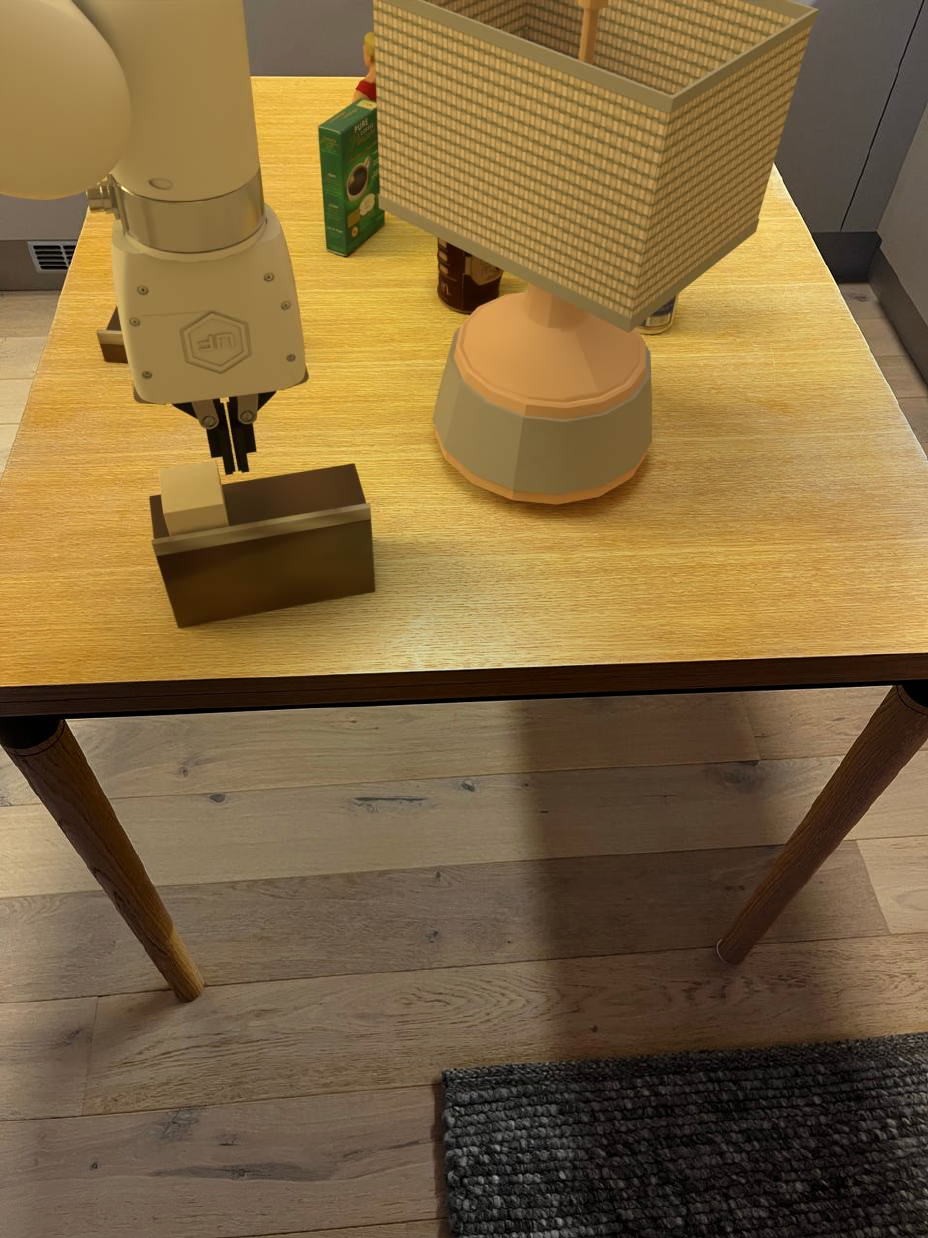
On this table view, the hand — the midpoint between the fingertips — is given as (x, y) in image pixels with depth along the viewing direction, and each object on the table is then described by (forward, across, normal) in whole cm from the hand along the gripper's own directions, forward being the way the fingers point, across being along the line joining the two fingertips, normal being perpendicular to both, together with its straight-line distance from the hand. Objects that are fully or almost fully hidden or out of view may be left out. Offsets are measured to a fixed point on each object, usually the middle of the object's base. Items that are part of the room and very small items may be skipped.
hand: (234, 459), depth 67 cm
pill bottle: (+12, +43, +26) cm, 51 cm away
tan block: (+5, -3, 0) cm, 6 cm away
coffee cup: (+12, +26, +33) cm, 44 cm away
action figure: (+12, +22, +59) cm, 65 cm away
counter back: (+13, -3, +31) cm, 34 cm away
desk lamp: (+12, +26, +10) cm, 31 cm away
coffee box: (+12, +17, +46) cm, 51 cm away
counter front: (+13, +1, 0) cm, 13 cm away
